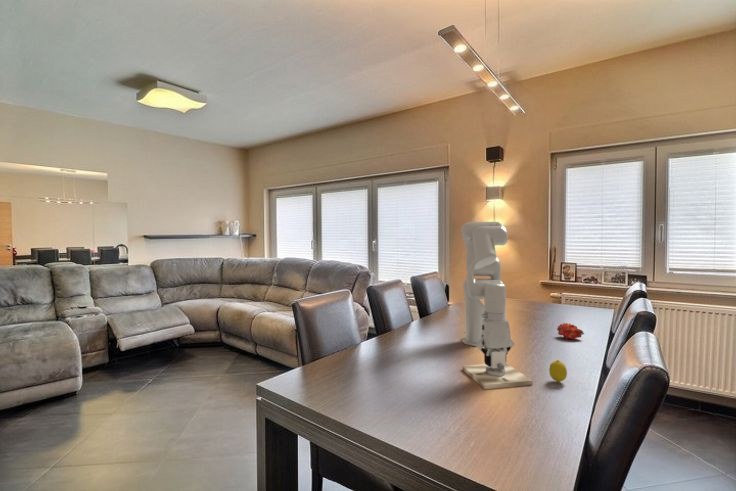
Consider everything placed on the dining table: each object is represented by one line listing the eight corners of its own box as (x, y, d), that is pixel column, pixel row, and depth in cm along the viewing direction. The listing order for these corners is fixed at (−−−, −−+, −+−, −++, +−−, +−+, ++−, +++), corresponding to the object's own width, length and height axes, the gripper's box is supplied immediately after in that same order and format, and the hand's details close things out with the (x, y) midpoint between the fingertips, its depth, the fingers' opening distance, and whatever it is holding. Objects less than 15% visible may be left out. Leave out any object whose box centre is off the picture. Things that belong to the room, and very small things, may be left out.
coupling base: (462, 369, 138) (462, 359, 138) (504, 366, 141) (504, 356, 141) (484, 389, 120) (484, 377, 120) (532, 384, 123) (532, 373, 123)
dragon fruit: (555, 339, 181) (581, 346, 174) (554, 332, 175) (581, 340, 168) (559, 324, 184) (585, 331, 177) (558, 317, 178) (585, 324, 171)
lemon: (560, 387, 121) (560, 364, 121) (545, 381, 126) (545, 359, 126) (570, 383, 124) (570, 361, 123) (555, 378, 128) (555, 356, 128)
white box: (485, 363, 133) (485, 347, 132) (498, 362, 133) (498, 346, 133) (495, 370, 125) (495, 353, 125) (508, 369, 126) (508, 352, 126)
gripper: (478, 320, 125) (478, 370, 125) (522, 317, 128) (522, 366, 128) (468, 315, 132) (469, 362, 133) (510, 313, 135) (510, 359, 135)
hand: (495, 364), depth 130 cm, fingers closed on white box, 5 cm apart
